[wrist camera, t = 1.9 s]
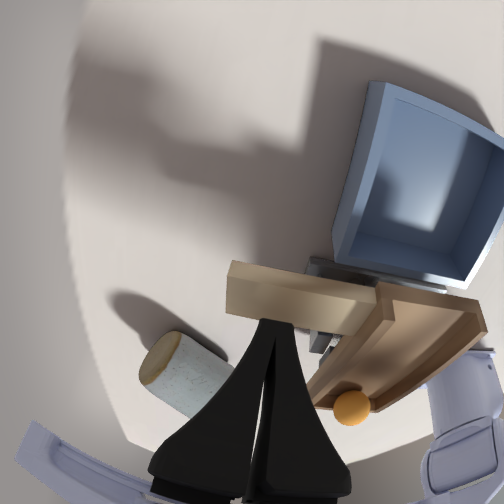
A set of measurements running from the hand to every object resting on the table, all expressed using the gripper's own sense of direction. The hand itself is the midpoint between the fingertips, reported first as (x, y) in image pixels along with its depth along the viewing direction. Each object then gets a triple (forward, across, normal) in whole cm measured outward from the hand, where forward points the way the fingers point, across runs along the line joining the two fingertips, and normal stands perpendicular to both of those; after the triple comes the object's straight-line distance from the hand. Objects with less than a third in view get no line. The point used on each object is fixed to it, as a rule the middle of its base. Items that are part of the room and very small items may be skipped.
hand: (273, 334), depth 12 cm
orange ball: (+2, -8, +10) cm, 13 cm away
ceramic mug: (+9, +7, +18) cm, 22 cm away
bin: (+9, -8, -6) cm, 13 cm away
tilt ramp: (+6, -5, +5) cm, 9 cm away
